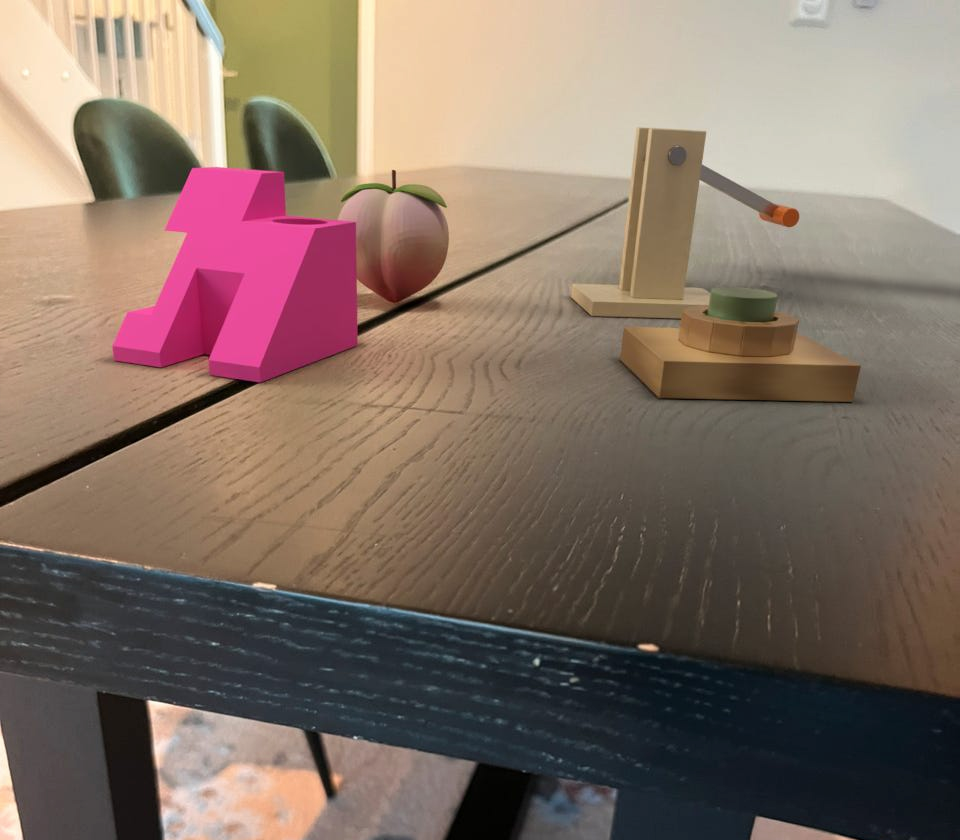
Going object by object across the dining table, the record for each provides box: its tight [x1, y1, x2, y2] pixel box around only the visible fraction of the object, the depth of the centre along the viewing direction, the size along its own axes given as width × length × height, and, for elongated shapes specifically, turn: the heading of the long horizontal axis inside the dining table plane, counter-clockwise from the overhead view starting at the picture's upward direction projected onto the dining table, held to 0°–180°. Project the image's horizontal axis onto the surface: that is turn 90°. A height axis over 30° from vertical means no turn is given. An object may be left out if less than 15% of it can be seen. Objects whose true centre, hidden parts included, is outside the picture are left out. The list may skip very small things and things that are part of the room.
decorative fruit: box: [337, 169, 450, 304], centre depth 79 cm, size 9×8×10 cm
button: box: [707, 286, 778, 322], centre depth 60 cm, size 4×4×2 cm
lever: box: [643, 154, 800, 228], centre depth 80 cm, size 13×6×2 cm, turn 95°
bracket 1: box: [111, 166, 359, 383], centre depth 60 cm, size 12×10×10 cm
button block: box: [619, 305, 862, 403], centre depth 61 cm, size 12×10×4 cm
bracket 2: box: [570, 126, 711, 320], centre depth 81 cm, size 12×9×14 cm
